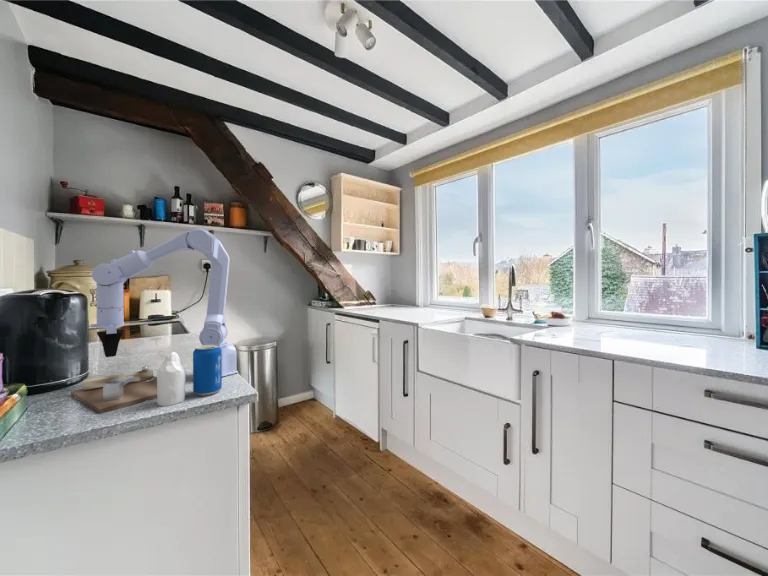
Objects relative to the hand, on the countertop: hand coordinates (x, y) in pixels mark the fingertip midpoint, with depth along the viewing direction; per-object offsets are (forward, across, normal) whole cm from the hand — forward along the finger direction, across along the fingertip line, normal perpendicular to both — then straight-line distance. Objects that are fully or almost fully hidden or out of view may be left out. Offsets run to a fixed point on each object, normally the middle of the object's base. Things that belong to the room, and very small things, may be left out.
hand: (110, 356), depth 88 cm
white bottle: (+8, +26, +10) cm, 29 cm away
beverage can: (+8, +25, +18) cm, 32 cm away
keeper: (+7, +12, +4) cm, 14 cm away
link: (+6, +6, +2) cm, 9 cm away
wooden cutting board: (+8, +13, +3) cm, 15 cm away
